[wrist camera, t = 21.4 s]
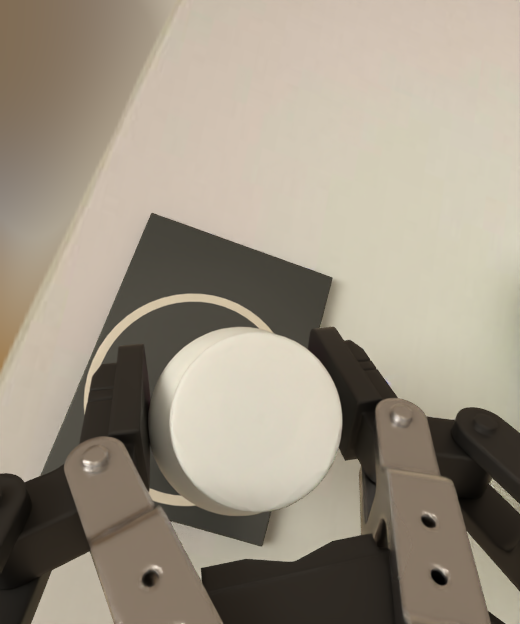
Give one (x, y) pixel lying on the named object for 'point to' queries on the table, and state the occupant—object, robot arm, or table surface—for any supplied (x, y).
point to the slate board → (195, 331)
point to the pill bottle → (244, 421)
